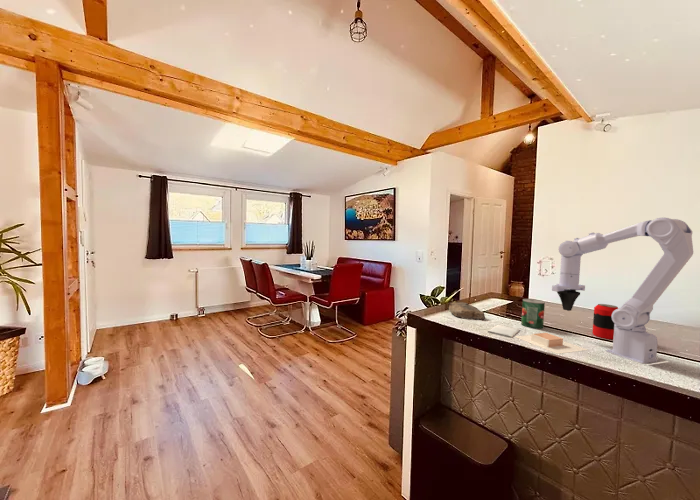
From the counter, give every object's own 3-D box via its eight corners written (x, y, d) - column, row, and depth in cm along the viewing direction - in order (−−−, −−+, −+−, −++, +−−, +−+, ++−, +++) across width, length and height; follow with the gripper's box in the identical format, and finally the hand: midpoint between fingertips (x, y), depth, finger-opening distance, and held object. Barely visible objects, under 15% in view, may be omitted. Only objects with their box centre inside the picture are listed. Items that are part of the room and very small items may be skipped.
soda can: (588, 334, 112) (590, 304, 111) (597, 332, 115) (600, 302, 115) (613, 341, 105) (615, 308, 105) (622, 338, 109) (624, 307, 108)
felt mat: (588, 351, 94) (588, 349, 94) (557, 355, 90) (557, 353, 90) (542, 334, 110) (542, 333, 110) (514, 337, 105) (514, 336, 105)
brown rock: (445, 308, 150) (452, 317, 130) (445, 298, 149) (453, 307, 130) (473, 310, 147) (485, 321, 128) (473, 301, 147) (486, 310, 128)
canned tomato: (547, 330, 115) (548, 303, 115) (526, 328, 117) (527, 302, 116) (537, 324, 123) (539, 299, 123) (517, 323, 124) (519, 298, 124)
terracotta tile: (563, 338, 98) (547, 340, 95) (562, 345, 98) (547, 347, 96) (546, 332, 103) (531, 334, 101) (545, 339, 103) (531, 340, 101)
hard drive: (511, 336, 104) (519, 328, 113) (487, 330, 109) (497, 323, 118) (511, 340, 104) (519, 332, 113) (487, 334, 109) (497, 327, 118)
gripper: (572, 272, 112) (569, 306, 113) (544, 272, 107) (542, 308, 108) (592, 274, 105) (589, 311, 106) (564, 275, 101) (561, 313, 101)
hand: (567, 310), depth 107 cm, fingers closed
